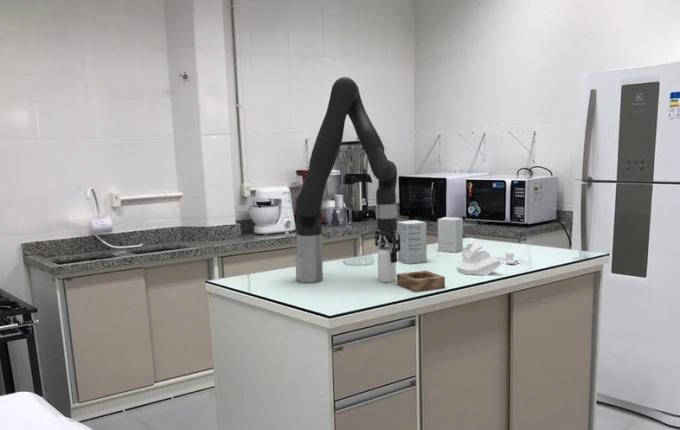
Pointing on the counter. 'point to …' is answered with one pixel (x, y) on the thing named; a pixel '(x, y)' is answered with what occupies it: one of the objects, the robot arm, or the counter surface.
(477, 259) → the white faceted sculpture
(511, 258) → the teacup and saucer
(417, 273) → the brown open box
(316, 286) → the counter surface
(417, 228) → the supplement box
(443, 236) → the supplement box
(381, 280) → the can
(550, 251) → the counter surface
